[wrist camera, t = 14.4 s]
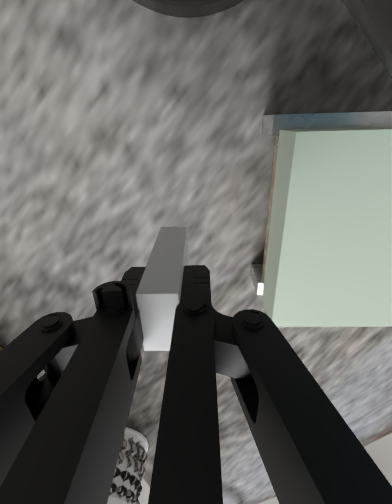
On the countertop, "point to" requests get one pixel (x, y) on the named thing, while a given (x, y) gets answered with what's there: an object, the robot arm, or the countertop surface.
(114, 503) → the decorative candle
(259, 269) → the roller bed
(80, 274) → the countertop surface
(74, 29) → the countertop surface
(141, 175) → the countertop surface
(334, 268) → the slab
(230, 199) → the countertop surface
